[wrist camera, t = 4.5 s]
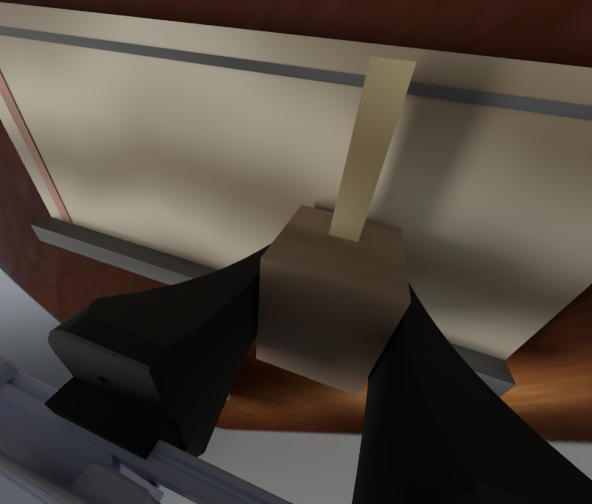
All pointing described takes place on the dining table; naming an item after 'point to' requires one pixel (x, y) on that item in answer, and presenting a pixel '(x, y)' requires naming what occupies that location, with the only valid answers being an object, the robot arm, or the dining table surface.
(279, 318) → the marking gauge
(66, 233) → the cream flat tray
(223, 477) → the robot arm
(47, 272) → the dining table surface
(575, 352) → the dining table surface
